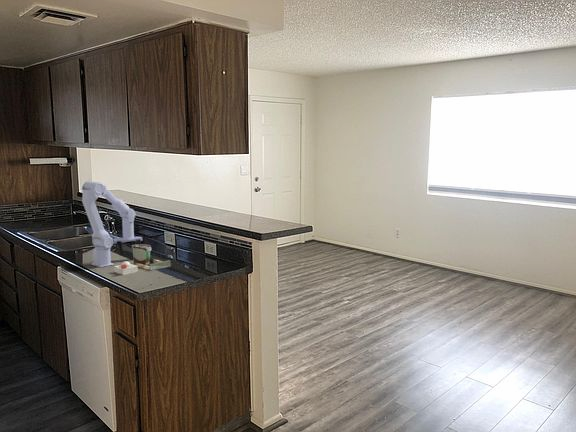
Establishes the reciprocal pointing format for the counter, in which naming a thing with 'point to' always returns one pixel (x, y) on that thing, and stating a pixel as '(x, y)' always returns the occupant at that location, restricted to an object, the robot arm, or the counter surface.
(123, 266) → the dome housing
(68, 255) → the counter surface
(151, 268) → the bracket
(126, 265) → the dome
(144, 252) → the food container
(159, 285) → the counter surface
